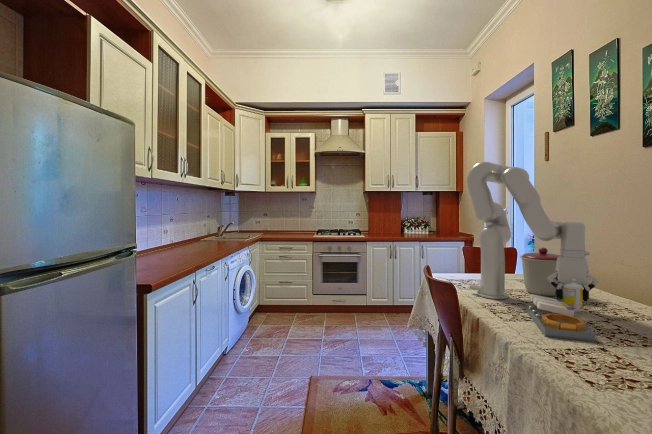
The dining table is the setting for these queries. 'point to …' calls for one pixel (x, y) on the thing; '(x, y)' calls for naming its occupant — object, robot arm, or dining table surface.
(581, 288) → the supplement bottle
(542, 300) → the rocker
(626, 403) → the dining table surface
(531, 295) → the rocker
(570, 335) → the panel
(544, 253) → the canister
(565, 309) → the bar
